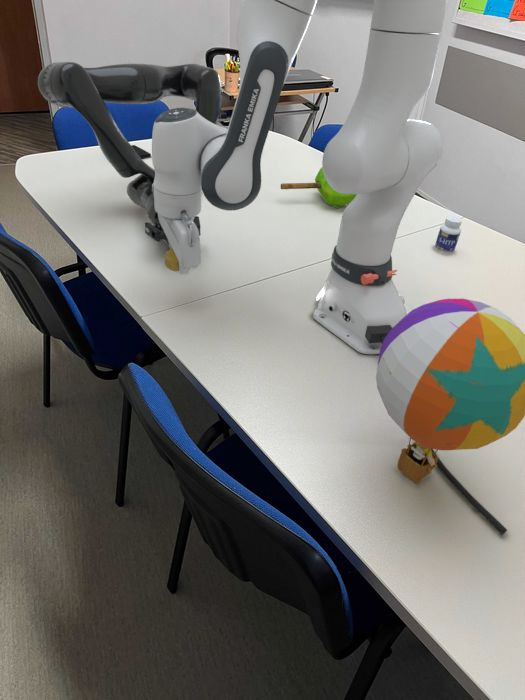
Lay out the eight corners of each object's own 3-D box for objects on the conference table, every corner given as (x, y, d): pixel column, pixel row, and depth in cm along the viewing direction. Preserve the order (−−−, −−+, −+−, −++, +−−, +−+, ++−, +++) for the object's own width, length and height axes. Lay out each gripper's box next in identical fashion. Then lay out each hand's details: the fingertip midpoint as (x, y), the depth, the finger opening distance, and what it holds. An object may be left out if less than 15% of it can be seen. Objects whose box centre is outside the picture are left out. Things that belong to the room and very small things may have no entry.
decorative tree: (276, 159, 158) (369, 157, 163) (274, 192, 165) (363, 189, 170) (289, 180, 145) (390, 177, 150) (286, 215, 151) (383, 212, 156)
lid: (159, 265, 106) (159, 255, 105) (176, 255, 110) (176, 245, 109) (181, 274, 105) (181, 264, 103) (197, 263, 108) (197, 253, 107)
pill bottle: (433, 251, 139) (442, 220, 133) (435, 243, 143) (444, 213, 137) (453, 256, 138) (464, 225, 132) (454, 247, 142) (465, 217, 136)
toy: (323, 462, 80) (361, 299, 61) (400, 408, 91) (452, 255, 72) (428, 555, 69) (513, 392, 50) (502, 481, 80) (595, 323, 61)
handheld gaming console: (155, 150, 180) (137, 128, 171) (144, 166, 178) (126, 146, 170) (133, 146, 186) (115, 125, 178) (123, 162, 185) (104, 142, 176)
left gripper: (134, 201, 126) (153, 231, 114) (190, 195, 131) (214, 223, 119) (136, 229, 130) (155, 261, 119) (190, 222, 136) (214, 252, 124)
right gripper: (209, 224, 92) (208, 289, 101) (180, 179, 107) (181, 239, 115) (174, 227, 90) (176, 293, 99) (150, 180, 104) (153, 242, 113)
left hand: (185, 242), depth 119 cm, fingers closed on jar, 4 cm apart
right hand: (178, 264), depth 107 cm, fingers closed on lid, 5 cm apart
